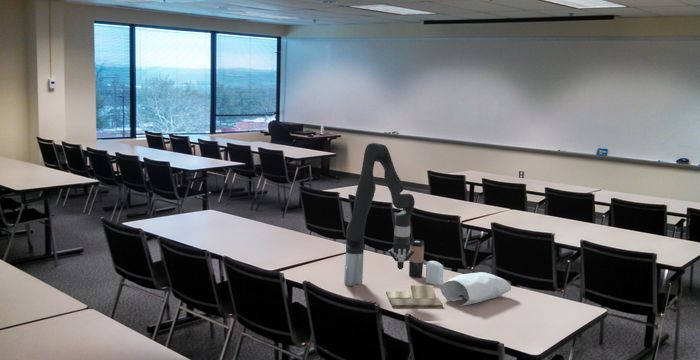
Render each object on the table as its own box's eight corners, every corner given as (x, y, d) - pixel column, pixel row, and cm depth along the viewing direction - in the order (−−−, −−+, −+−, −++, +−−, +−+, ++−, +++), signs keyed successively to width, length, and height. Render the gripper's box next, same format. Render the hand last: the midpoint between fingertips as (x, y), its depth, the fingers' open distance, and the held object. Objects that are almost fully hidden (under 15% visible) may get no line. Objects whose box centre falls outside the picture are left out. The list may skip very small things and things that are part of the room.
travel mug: (423, 275, 354) (425, 240, 351) (420, 278, 347) (422, 243, 344) (410, 273, 356) (412, 238, 353) (407, 277, 349) (408, 241, 346)
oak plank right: (413, 300, 308) (413, 298, 308) (410, 287, 316) (410, 285, 315) (435, 300, 310) (436, 298, 309) (432, 287, 317) (432, 285, 316)
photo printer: (424, 282, 341) (425, 259, 339) (429, 280, 344) (430, 258, 342) (438, 287, 333) (439, 264, 332) (443, 286, 336) (445, 263, 334)
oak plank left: (388, 300, 307) (389, 297, 307) (386, 294, 316) (386, 291, 316) (411, 300, 308) (411, 297, 308) (407, 294, 317) (407, 291, 317)
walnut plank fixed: (392, 307, 298) (392, 304, 297) (389, 301, 306) (389, 298, 306) (442, 307, 300) (442, 304, 300) (438, 301, 309) (438, 298, 309)
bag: (517, 293, 318) (477, 291, 294) (489, 313, 328) (449, 313, 303) (498, 261, 328) (458, 257, 304) (472, 282, 338) (431, 280, 313)
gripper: (389, 236, 305) (388, 271, 308) (416, 236, 306) (415, 271, 309) (387, 232, 312) (385, 266, 315) (413, 232, 314) (412, 266, 316)
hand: (400, 268), depth 312 cm, fingers closed
